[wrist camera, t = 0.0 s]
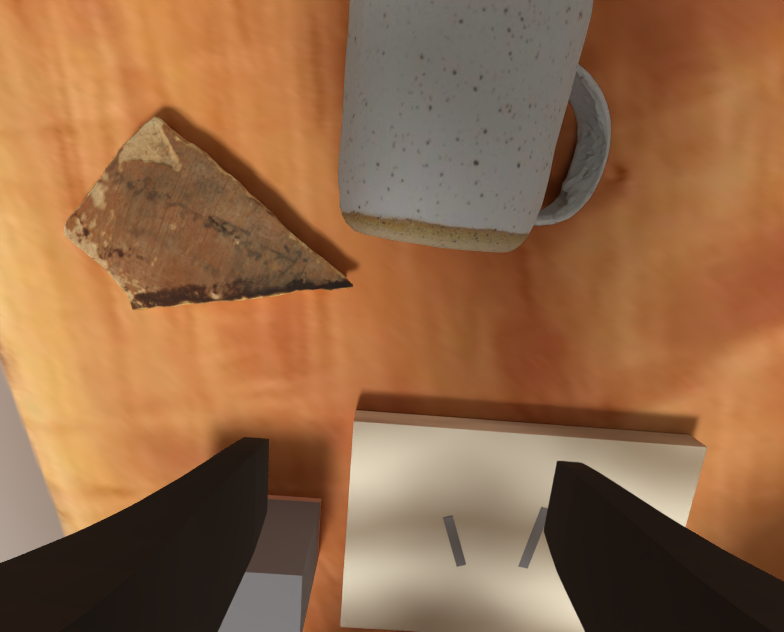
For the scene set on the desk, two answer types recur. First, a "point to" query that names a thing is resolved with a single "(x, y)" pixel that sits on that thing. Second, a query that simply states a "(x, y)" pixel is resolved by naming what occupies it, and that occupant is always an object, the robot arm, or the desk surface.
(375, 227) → the ceramic mug
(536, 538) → the cream flat board
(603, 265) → the desk surface
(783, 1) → the desk surface
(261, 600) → the block
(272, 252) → the shard
